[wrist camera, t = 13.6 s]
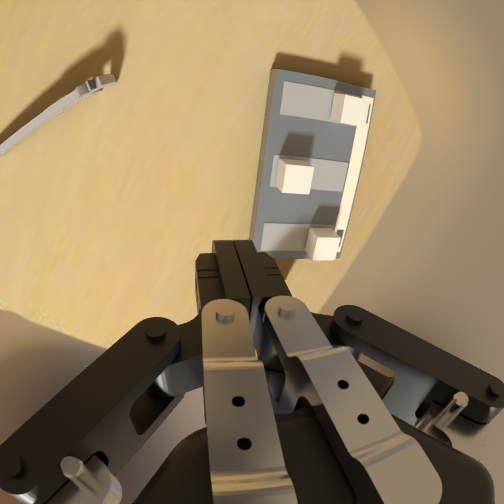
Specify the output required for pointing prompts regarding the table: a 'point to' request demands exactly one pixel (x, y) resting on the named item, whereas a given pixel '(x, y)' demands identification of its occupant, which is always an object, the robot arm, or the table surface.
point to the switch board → (312, 151)
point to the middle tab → (294, 176)
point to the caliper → (59, 108)
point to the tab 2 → (349, 110)
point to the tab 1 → (322, 244)
